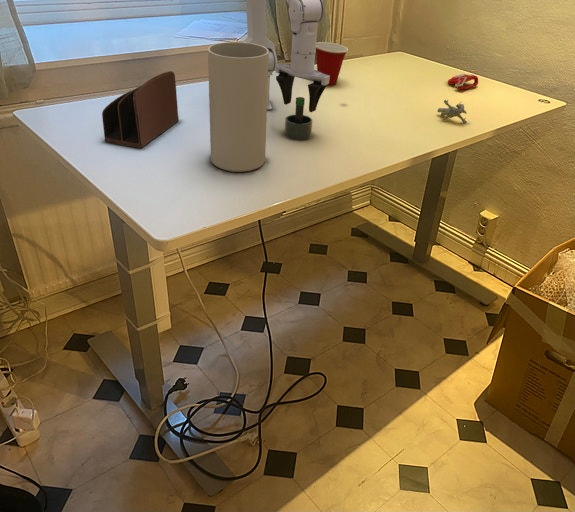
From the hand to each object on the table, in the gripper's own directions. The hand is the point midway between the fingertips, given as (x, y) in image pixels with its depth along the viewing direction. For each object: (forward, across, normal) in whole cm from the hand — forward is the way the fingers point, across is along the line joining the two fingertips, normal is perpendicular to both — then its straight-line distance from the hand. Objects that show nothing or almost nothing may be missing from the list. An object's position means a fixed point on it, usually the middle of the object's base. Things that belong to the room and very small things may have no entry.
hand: (299, 107), depth 139 cm
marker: (+7, 0, 0) cm, 7 cm away
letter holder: (+8, +30, +25) cm, 40 cm away
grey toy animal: (+8, -26, -38) cm, 46 cm away
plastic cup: (+8, +17, -42) cm, 46 cm away
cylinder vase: (+8, +1, +23) cm, 24 cm away
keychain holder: (+6, -18, -72) cm, 74 cm away
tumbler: (+7, 0, 0) cm, 7 cm away
